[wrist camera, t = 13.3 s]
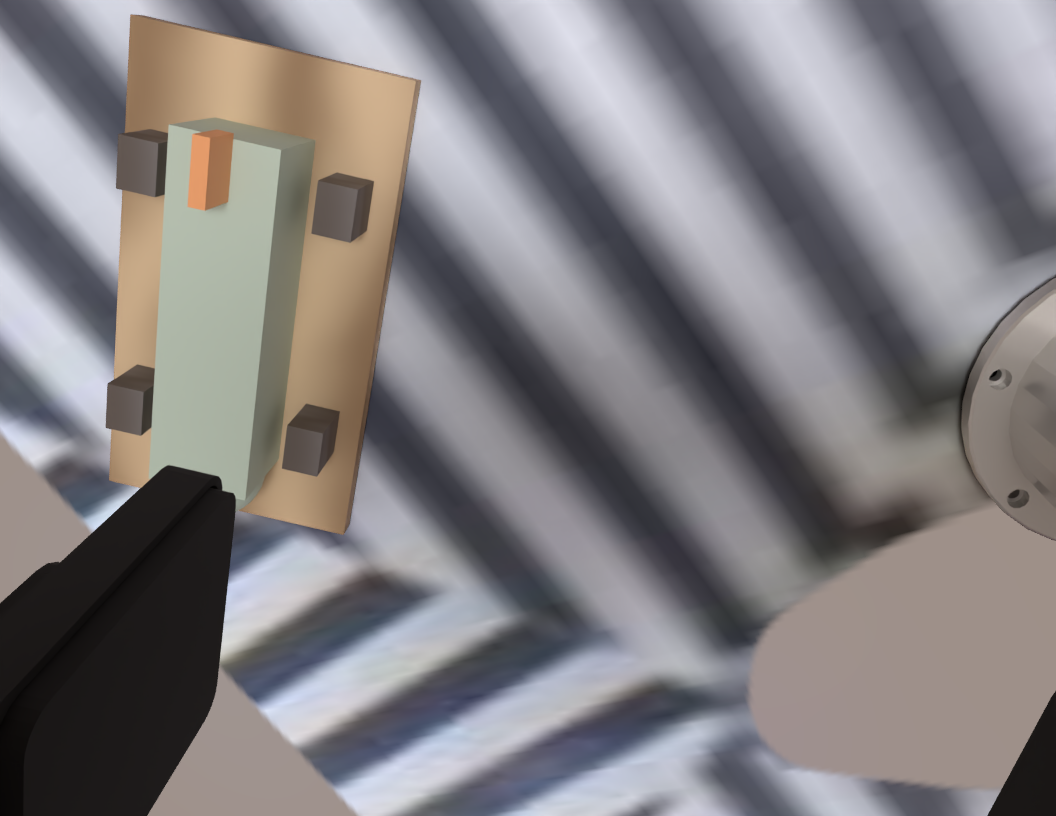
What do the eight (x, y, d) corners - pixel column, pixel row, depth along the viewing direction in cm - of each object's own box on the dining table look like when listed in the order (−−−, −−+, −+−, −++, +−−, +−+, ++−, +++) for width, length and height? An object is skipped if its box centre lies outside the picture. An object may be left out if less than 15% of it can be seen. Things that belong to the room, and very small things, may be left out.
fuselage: (316, 135, 35) (261, 149, 29) (274, 498, 41) (221, 567, 35) (215, 112, 35) (141, 122, 29) (188, 479, 41) (122, 545, 35)
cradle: (421, 80, 35) (401, 82, 32) (349, 524, 42) (327, 563, 39) (143, 15, 35) (95, 11, 32) (119, 471, 42) (79, 505, 39)
